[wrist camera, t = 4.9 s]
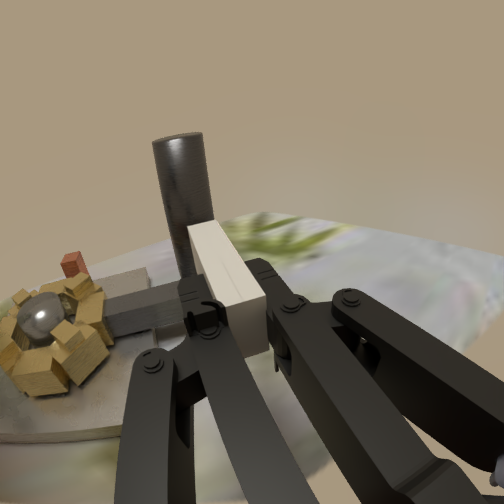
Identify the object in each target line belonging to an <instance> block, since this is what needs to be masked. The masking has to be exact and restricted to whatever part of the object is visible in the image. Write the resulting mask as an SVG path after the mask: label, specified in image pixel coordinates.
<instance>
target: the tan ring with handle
mask: <svg viewBox="0 0 504 504" xmlns="http://www.w3.org/2000/svg"><path fill="white" fill-rule="evenodd" d="M152 145H153V152H154V157H155V163H156V169H157V174H158V179H159V184H160V189H161V194H162V199H163V204H164V209H165V214H166V218H167V223H168V227H169V231H170V236H171V240H172V244H173V249H174V253H175V257H176V261H177V265H178V269H179V273H180V276H181V279H183V278H187V277H191V276H195V275H198V274H197V271H196V267H195V262H194V257H193V253H192V248H191V243H190V238H189V233H188V228H187V226H191V225H195V224H200V223H204V222H208V221H212V220H214V214H213V207H212V201H211V195H210V187H209V180H208V172H207V165H206V158H205V150H204V142H203V135H202V133H201V132H194V133H185V134H178V135H173V136H169V137H165V138H161V139H158V140H155V141H153V142H152ZM179 281H180V280H179ZM179 281H175V282H171V283H168V284H164V285H160V286H156V287H152V288H148V289H145V290H141V291H137V292H133V293H129V294H125V295H121V296H117V297H113V298H109V299H108V298H107V296H106V294H105V291H103V289H102V287H101V286H99V285H97V284H95V283H93V282H92V279H91V277H90V275H87V274H85V273H82V272H80V273H79V274H77V275H76V276H75V277H73V278H72V277H70V278H67V279H63V280H60V281H56V282H52V283H49V284H45V285H42V286H41V288H40V290H39V293H38V292H37V291H36V290H33V291H32V292H30V293H28V292H27V291H26V290H24V289H21V290H20V291H19V292H18V293H16V294H15V295H14V296H13V297H11V298H12V299H13V301H14V303H15V305H14V306H13V307H12V308H11V309H10V310H8V312H9V314H10V316H6V317H3V318H2V321H1V323H0V366H1V368H2V369H3V371H4V372H5V373H6V375H7V376H8V377H9V378H10V379H11V381H12V382H13V383H14V384H15V385H16V386H17V387H18V388H19V390H20V391H21V392H22V393H23V394H24V393H25V391H26V392H27V394H28V395H29V396H30V397H31V396H40V395H48V394H56V393H63V392H68V388H69V379H70V380H71V381H72V382H73V383H75V384H76V385H77V386H79V385H80V384H81V383H82V382H83V381H84V379H85V378H86V377H87V376H88V375H89V374H90V373H91V372H92V371H93V370H94V369H95V368H96V367H97V366H98V365H99V364H100V363H101V362H102V361H103V360H104V359H105V358H106V356H107V355H108V354H109V351H108V349H107V348H106V346H109V345H113V344H114V337H118V336H122V335H126V334H130V333H134V332H138V331H142V330H146V329H150V328H154V327H158V326H162V325H166V324H170V323H174V322H177V321H181V320H184V319H183V310H182V306H181V302H180V298H179V294H178V289H177V286H178V284H179ZM43 292H54V293H56V294H57V295H58V297H59V299H60V301H61V303H62V305H63V307H64V308H65V310H66V312H67V314H68V315H71V314H76V318H75V323H74V324H73V325H72V324H71V323H69V322H68V321H66V320H65V319H64V320H63V321H62V322H61V323H60V324H59V325H58V326H57V327H55V328H54V329H53V330H52V331H51V332H50V333H51V335H52V337H53V338H54V340H55V341H54V342H53V343H52V344H51V345H50V346H47V347H42V348H37V349H32V350H28V348H29V344H30V341H29V340H28V338H27V337H26V335H25V334H24V332H23V330H22V329H21V327H20V326H19V324H18V322H17V314H18V312H19V310H20V308H21V307H22V306H23V305H24V304H25V303H26V302H27V301H28V300H29V299H31V298H32V297H34V296H36V295H38V294H40V293H43Z"/></svg>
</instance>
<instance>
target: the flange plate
mask: <svg viewBox="0 0 504 504" xmlns="http://www.w3.org/2000/svg"><path fill="white" fill-rule="evenodd" d="M61 266H62V269H63V271H64V273H65V276H66V278H70V277H72V278H73V277H75V276H76V275H77V274H79V273H80V272H82V273H85V274H87V275H89V273H88V270H87V268H86V265H85V263H84V261H83V258H82V255H81V252H80V251H78V252H74V253H70V254H66V255H65V256H64V258H63V260H62V262H61ZM92 282H93V283H95V284H97V285H99V286H101V287H102V289H103V291H105V294H106V296H107V298H108V299H109V298H113V297H117V296H121V295H125V294H129V293H133V292H137V291H141V290H145V289H148V288H150V282H149V276H148V273H147V270H146V267H144V268H140V269H136V270H132V271H128V272H125V273H121V274H117V275H113V276H109V277H106V278H102V279H98V280H94V281H92ZM14 305H15V303H13V304H12V307H13V306H14ZM12 307H11V308H12ZM8 316H10V314H9V313H8ZM75 318H76V314H71V315H68V314H67V312H66V310H65V308H64V307H63V305H62V303H61V301H60V299H59V297H58V295H57V294H56V293H54V292H43V293H40V294H38V295H36V296H34V297H32V298H31V299H29V300H28V301H27V302H26V303H25V304H24V305H23V306H22V307H21V308H20V310H19V312H18V314H17V322H18V324H19V326H20V327H21V329H22V330H23V332H24V334H25V335H26V337H27V338H28V340H29V341H30V344H29V348H28V350H32V349H37V348H42V347H47V346H50V345H51V344H52V343H53V342H54V341H55V340H54V338H53V337H52V335H51V333H50V332H51V331H52V330H53V329H54V328H55V327H57V326H58V325H59V324H60V323H61V322H62V321H63V320H64V319H65V320H66V321H68V322H69V323H71V324H72V325H73V324H74V323H75ZM106 348H107V349H108V351H109V354H108V355H107V356H106V358H105V359H104V360H103V361H102V362H101V363H100V364H99V365H98V366H97V367H96V368H95V369H94V370H93V371H92V372H91V373H90V374H89V375H88V376H87V377H86V378H85V379H84V381H83V382H82V383H81V384H80V385H79V386H77V385H76V384H75V383H73V382H72V381H71V380H70V379H69V388H68V392H63V393H56V394H48V395H40V396H31V397H30V396H29V395H28V394H27V392H26V391H25V393H24V394H23V393H22V392H21V391H20V390H19V388H18V387H17V386H16V385H15V384H14V383H13V382H12V381H11V379H10V378H9V377H8V376H7V375H6V373H5V372H4V371H3V369H2V368H1V366H0V442H5V443H55V442H71V441H83V440H93V439H102V438H110V437H117V436H121V430H122V423H123V417H124V410H125V404H126V398H127V393H128V387H129V382H130V377H131V372H132V367H133V363H134V361H135V359H136V357H137V356H138V355H139V354H140V353H142V352H144V351H146V350H147V349H152V348H158V344H157V338H156V331H155V327H154V328H150V329H146V330H142V331H138V332H134V333H130V334H126V335H122V336H118V337H114V344H113V345H109V346H106Z"/></svg>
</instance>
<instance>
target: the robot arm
mask: <svg viewBox="0 0 504 504" xmlns="http://www.w3.org/2000/svg"><path fill="white" fill-rule="evenodd" d="M187 228H188V233H189V238H190V243H191V248H192V253H193V257H194V262H195V267H196V271H197V274H198V275H195V276H191V277H187V278H183V279H180V281H179V284H178V286H177V289H178V294H179V298H180V302H181V306H182V310H183V319H184V323H185V326H186V329H187V336H186V337H185V339H184V341H183V342H182V343H181V344H180V345H178V346H177V347H175V348H174V349H172V350H170V351H167V350H164V349H162V348H152V349H147V350H146V351H144V352H142V353H140V354H139V355H138V356H137V357H136V359H135V361H134V363H133V367H132V372H131V377H130V382H129V387H128V393H127V398H126V404H125V410H124V417H123V423H122V430H121V437H120V445H119V453H118V462H117V472H116V483H115V496H114V504H196V493H195V467H194V404H195V403H197V402H199V401H200V400H202V399H203V398H205V397H208V400H209V403H210V406H211V409H212V412H213V415H214V418H215V420H216V423H217V426H218V429H219V432H220V434H221V437H222V440H223V442H224V445H225V448H226V450H227V453H228V456H229V458H230V461H231V463H232V466H233V468H234V471H235V473H236V475H237V478H238V480H239V483H240V485H241V487H242V490H243V492H244V494H245V497H246V499H247V501H248V503H249V504H319V502H318V500H317V498H316V497H315V495H314V493H313V492H312V490H311V488H310V486H309V485H308V483H307V481H306V479H305V477H304V476H303V474H302V472H301V470H300V468H299V467H298V465H297V463H296V461H295V459H294V457H293V455H292V454H291V452H290V450H289V448H288V446H287V444H286V442H285V440H284V439H283V437H282V435H281V433H280V431H279V429H278V427H277V425H276V423H275V421H274V419H273V417H272V415H271V413H270V411H269V409H268V407H267V405H266V403H265V401H264V399H263V397H262V395H261V393H260V391H259V389H258V387H257V385H256V383H255V381H254V379H253V377H252V375H251V373H250V370H249V368H248V366H247V364H246V362H245V360H244V358H247V357H250V356H253V355H256V354H259V353H262V352H265V351H268V350H269V342H270V344H271V345H272V347H273V349H274V364H275V371H276V372H278V371H279V368H280V369H281V371H282V373H283V375H284V376H285V378H286V380H287V382H288V383H289V385H290V387H291V389H292V390H293V392H294V394H295V396H296V397H297V399H298V401H299V402H300V404H301V406H302V408H303V409H304V411H305V413H306V414H307V416H308V418H309V419H310V421H311V423H312V424H313V426H314V428H315V429H316V431H317V433H318V434H319V436H320V438H321V439H322V441H323V443H324V444H325V446H326V448H327V449H328V451H329V453H330V454H331V456H332V457H333V459H334V461H335V462H336V464H337V465H338V467H339V469H340V470H341V472H342V474H343V475H344V477H345V478H346V480H347V482H348V483H349V485H350V486H351V488H352V489H353V491H354V493H355V494H356V496H357V497H358V499H359V500H360V502H361V504H504V496H493V495H481V494H480V492H479V491H478V490H477V488H476V487H475V486H474V484H473V483H472V482H471V481H470V479H469V478H468V477H467V476H466V474H465V473H464V472H463V471H462V469H461V468H460V467H459V466H458V465H457V464H456V463H454V462H453V461H451V460H449V459H441V458H437V457H436V456H435V455H433V454H432V452H431V451H430V450H429V448H428V447H427V446H426V445H425V444H424V442H423V441H422V440H421V438H420V437H419V436H418V435H417V433H416V432H415V431H414V430H413V428H412V427H411V426H410V425H409V423H408V422H407V421H406V419H405V418H404V417H403V416H405V417H406V418H407V419H408V420H410V421H411V422H412V423H414V424H415V425H416V426H418V427H419V428H420V429H422V430H423V431H424V432H425V433H427V434H428V435H430V436H431V437H432V438H433V439H435V440H436V441H437V442H439V443H440V444H442V445H443V446H444V447H446V448H447V449H448V450H450V451H451V452H452V453H454V454H455V455H456V456H458V457H459V458H461V459H462V460H464V461H465V462H467V463H468V464H470V465H471V466H473V467H476V468H478V469H480V470H483V471H486V472H491V473H492V474H491V476H490V484H491V485H492V486H494V487H496V486H498V485H499V486H500V487H502V488H504V382H502V381H501V380H499V379H498V378H496V377H495V376H493V375H492V374H490V373H489V372H488V371H486V370H484V369H483V368H481V367H480V366H478V365H477V364H475V363H474V362H472V361H471V360H469V359H468V358H466V357H465V356H463V355H462V354H460V353H459V352H457V351H456V350H454V349H453V348H451V347H449V346H448V345H446V344H445V343H443V342H442V341H440V340H439V339H437V338H435V337H434V336H432V335H431V334H429V333H428V332H426V331H424V330H423V329H421V328H420V327H418V326H417V325H415V324H413V323H412V322H410V321H409V320H407V319H405V318H404V317H402V316H401V315H399V314H398V313H396V312H394V311H393V310H391V309H389V308H388V307H386V306H385V305H383V304H381V303H380V302H378V301H377V300H375V299H373V298H372V297H370V296H368V295H367V294H365V293H364V292H362V291H359V290H357V289H351V288H347V289H342V290H339V291H337V292H336V293H335V294H334V295H333V299H332V301H329V302H319V303H312V302H310V301H309V300H308V299H306V298H305V297H304V296H301V295H298V294H293V292H292V291H291V290H290V289H289V287H288V286H287V285H286V283H285V282H284V281H283V280H282V278H281V277H280V276H278V273H277V272H276V271H275V270H274V268H273V267H272V266H271V265H270V263H269V262H267V261H265V260H263V259H261V258H256V259H253V260H249V261H245V262H244V261H243V260H242V258H241V257H240V255H239V254H238V252H237V251H236V249H235V248H234V246H233V245H232V243H231V242H230V240H229V239H228V237H227V236H226V234H225V233H224V231H223V230H222V228H221V226H220V225H219V223H218V222H217V220H212V221H208V222H204V223H200V224H195V225H191V226H187ZM361 337H362V338H364V339H365V340H364V339H362V338H361ZM278 366H279V367H278ZM402 415H403V416H402Z"/></svg>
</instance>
